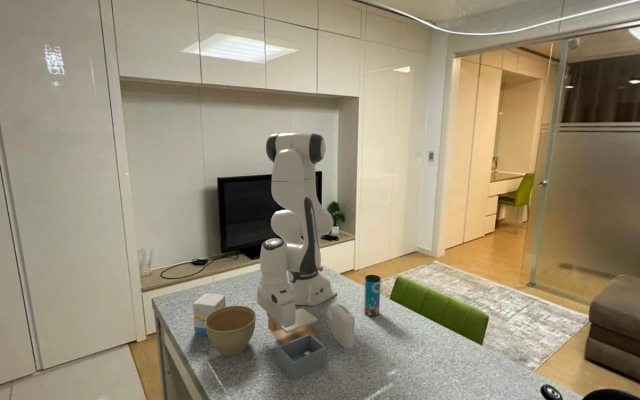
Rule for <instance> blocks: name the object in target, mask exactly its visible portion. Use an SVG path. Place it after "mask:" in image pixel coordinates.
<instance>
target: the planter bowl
mask: <svg viewBox="0 0 640 400" xmlns="http://www.w3.org/2000/svg"><path fill="white" fill-rule="evenodd" d="M256 320H257V313H256V311H255V310H254V309H253V308H251V307H249V306H245V305H230V306H226V307H223V308H220V309H218V310H215V311H214V312H212V313H210V314H209V315H208V316H207V318H206V319H205V326H206V330H207V335H206V336H207V337H208V339H209V341H210V342H211V345H213V347H214V348H215V349H216V350H217V351H218V352H217V353H219V354H220V355H222V356H223V355H224V356H233V355H234V356H235V355H238V354H240V353H242V352H243V351H244V350H245V349H247V346H248V344H249V342H250V341H251V339H252V337H253V335H254V332H255V329H256V328H255V327H256Z"/></svg>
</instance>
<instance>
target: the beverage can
mask: <svg viewBox="0 0 640 400" xmlns="http://www.w3.org/2000/svg"><path fill="white" fill-rule="evenodd" d="M364 277H365V278H364V301H363V303H364V305H363V312H364V314H365V315H366V316H368V317H376V316H378V315H380V300H381V299H380V296H381V277H380V276H379V275H376V274H368V275H365V276H364Z"/></svg>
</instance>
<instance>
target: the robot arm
mask: <svg viewBox="0 0 640 400" xmlns="http://www.w3.org/2000/svg"><path fill="white" fill-rule="evenodd" d="M326 149H327V147H326V143H325V139H324V137H323V136H322V135H321V134H318V133H307V132H289V133H288V132H287V133H279V132H278V133H274V134H271V135H269V137H268V138H267V139H266V144H265V152H266V155H267V158H268V159H269V160H270V161H271V162H272V163H273V164H272V165H273V166H272V172H271V187H270V188H271V189H270V190H271V195H272V198H273V200H274V201H275V202H276V204H278V205H279V206H280V207H282V208H284V209H281V210H278V211H277V210H276V211H275V212H274V213H273V215H272V217H271V219H270V226H271V230H272V231H273V232H274V233H275V234H276V235H277V236H278V237H280V238H277V237H274V238H270V239H267V240H265V241H263V243H262V244H261V249H260V254H259V255H260V256H259V269H260V272H261V275H260V276H261V277H260V281H259V283H258V286H257V289H256V303H257V305H258V306H260V307H261V308H262V309H263V310H264V311H265V312H266V315H267V316H266V317H267V319H268V320H269V319H272V318H274V319H276V322H277V324H275V329H276V330H277V331H279V330H281V329H282V326H283V327H285V328H286V327H289V326H292V325H293V324H294V323H295V319H296V310H297V309H296V308H297V307H296V305H298V306H310V307H316V306H318V305H320V304H321V303H323V302H325V301H327V300H328V299H330V298H332V297H334V296H336V295H337V290H336V288H334V287H332V284H331V280H330V279H329V278H328V277H327V276H325V275H323V274H322V273H321V272H323V270H324V267H323V266H321V263H322V255H321V251H320V246H319V245H320V244H319V241H318V237H320V236H326V235H329V234H330V232H331V231H332V230H333V227H334V219H333V215H332V214H331V212H329V211H328V210H327V209H326V208H324V207H323V206H322V205H321V203H320V201H319V199H318V196H317V188H316V187H317V185H316V183H317V182H316V165H317V163H319V162H321V161H322V160H323V159H324V157H325V154H326ZM302 237H303V238H302ZM268 320H267V321H268Z"/></svg>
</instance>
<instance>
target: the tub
mask: <svg viewBox="0 0 640 400" xmlns="http://www.w3.org/2000/svg"><path fill="white" fill-rule="evenodd" d="M306 348H309V349H311V350H312V353H311V354H309V355H307V356H304V357H303V350H304V349H306ZM327 349H328V348H327V346H326V345H324V344H323V343H322V342H321V341H319V340H318V339H317V338H316V336H315V337H313V336H312V335H311V334H308V335H305V336H303V337H301V338H298V339H296V340H293V341H291V342H289V343H286V344H284V345H283V344H281V345H280V346H278V347H277V364H278V365H279V366H280V367H281V368H282V369H283V370H284V372H285V373H286V374H287V375H288V376H289V377H290V379H292V380H293V381H294V380H296V379H298V378H301V377H303V376H305V375H307V374H309V373H311V372H312V371H315V370H316V369H318V368H321V367H323V366H325V365H327V363H328V361H327V359H328V358H327V355H328V354H327V353H328V351H327Z"/></svg>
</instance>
